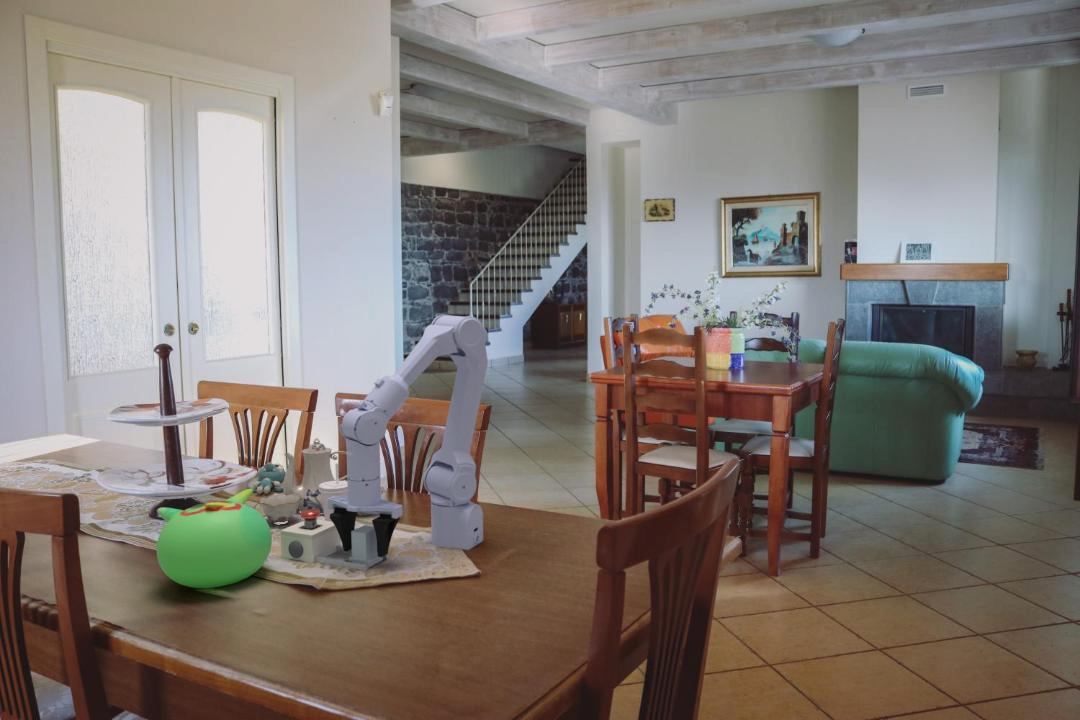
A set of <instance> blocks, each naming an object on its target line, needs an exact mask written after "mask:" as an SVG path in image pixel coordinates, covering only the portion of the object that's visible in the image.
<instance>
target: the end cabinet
mask: <svg viewBox="0 0 1080 720" xmlns="http://www.w3.org/2000/svg"><path fill="white" fill-rule="evenodd" d="M337 545H342V542H341V539H340V536H339V533H338V531H337V529H336V527H335V525H334V523H333V522H330V521H325V520H321V519H317V528H316V529H314V530H307V529H305V527H304V520H303V521H300V522H297V523H296V524H293V525H290V526H289V527H286V528H284V529H281V530H280V551H281V552H280V553H281V554H280V555H281V559H288V560H295V561H300V562H306V563H310V564H314V563H316V562H315V558H314V557H315V556H317V555H319V556H325V557H326V556H328V555H331V554H332V553H334V552H336V546H337Z"/></svg>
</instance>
